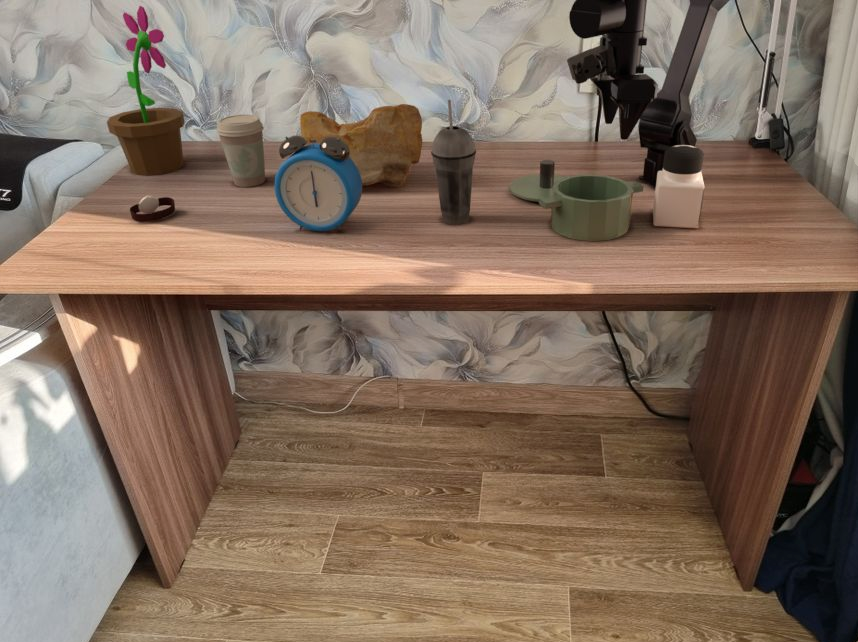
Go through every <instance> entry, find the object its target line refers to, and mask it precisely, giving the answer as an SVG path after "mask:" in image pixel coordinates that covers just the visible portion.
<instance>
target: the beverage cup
mask: <svg viewBox="0 0 858 642" xmlns="http://www.w3.org/2000/svg"><path fill="white" fill-rule="evenodd" d="M447 110H448V123H449V126H445V127H444V128H442V129H441V130H440V131H439V132H437V134H436V135H435V137H434V139H433V142H432V146H431V152H430V155H431V157H432V163H433V166H434V169H435V176H436V184H437V192H438V193H437V194H438V200H439V207H440V208H439V209H440V213H441V217H442V219H441V220H442V222H443V223H444V224H447V225H453V226H455V225H463V224H465V223H468V222H469V220H470V212H471V203H472V201H471V200H472V188H473V187H472V186H473V172H474V165H475V159H476V154H477V150H476V146H475V141H474V139H473V137H472V136H471V134H470V133H469V132H468V131H467V130H466V129H465V128H463V127H461V126H458V125H453V124H454V123H453V111H452V99H447Z"/></svg>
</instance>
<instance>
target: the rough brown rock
mask: <svg viewBox="0 0 858 642" xmlns="http://www.w3.org/2000/svg"><path fill="white" fill-rule="evenodd" d="M299 117H300V118H299V122H300V132H301V134H300V135H301V136H302V137H304V138H305V139H306V140H307V142H308V143H307V144H306V145H309V144H314V143H320V142H321V141H322V140H323V139H324V138H326V137H329V136H335V137H338V138H340V139H342V140H343V141H345V142H346V144H347V145H348V147H349V150H350V155H349V157H350V158H351V160H352V161H353V162H354V163H355V165H356V167H357V168H358V171H359V173H360V176H361V180H362V186H370V185H373V184H376V183H381V184H384V185H386V186H388V187H392V188H401V187H402V186H404V185H405V184H406V181H407V178H408V175H409V173H410V169H411V168H410V167H412V166H414V165H416V164H418V163H420V161H421V155H422V149H423V135H422V128H423V117H422V115H421V113H420V110H419V108H418V107H416V106H415V105H412V104H407V103H402V104H398V105H384V106H378V107H375V108H373V109H372V110H371V111H370V113H369V115H368V116H367V117H364V119H361V120H359V121H357V122H352V123H341V124H340V123H338V122H337V121H336V120H334V119H332V118H330V117H328V116H327V115H325V113H323V112H321V111H313V110H311V111H310V110H309V111H305V112H303V113H301V114H300V116H299ZM309 140H316V142H309ZM306 145H304V146H306Z"/></svg>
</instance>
